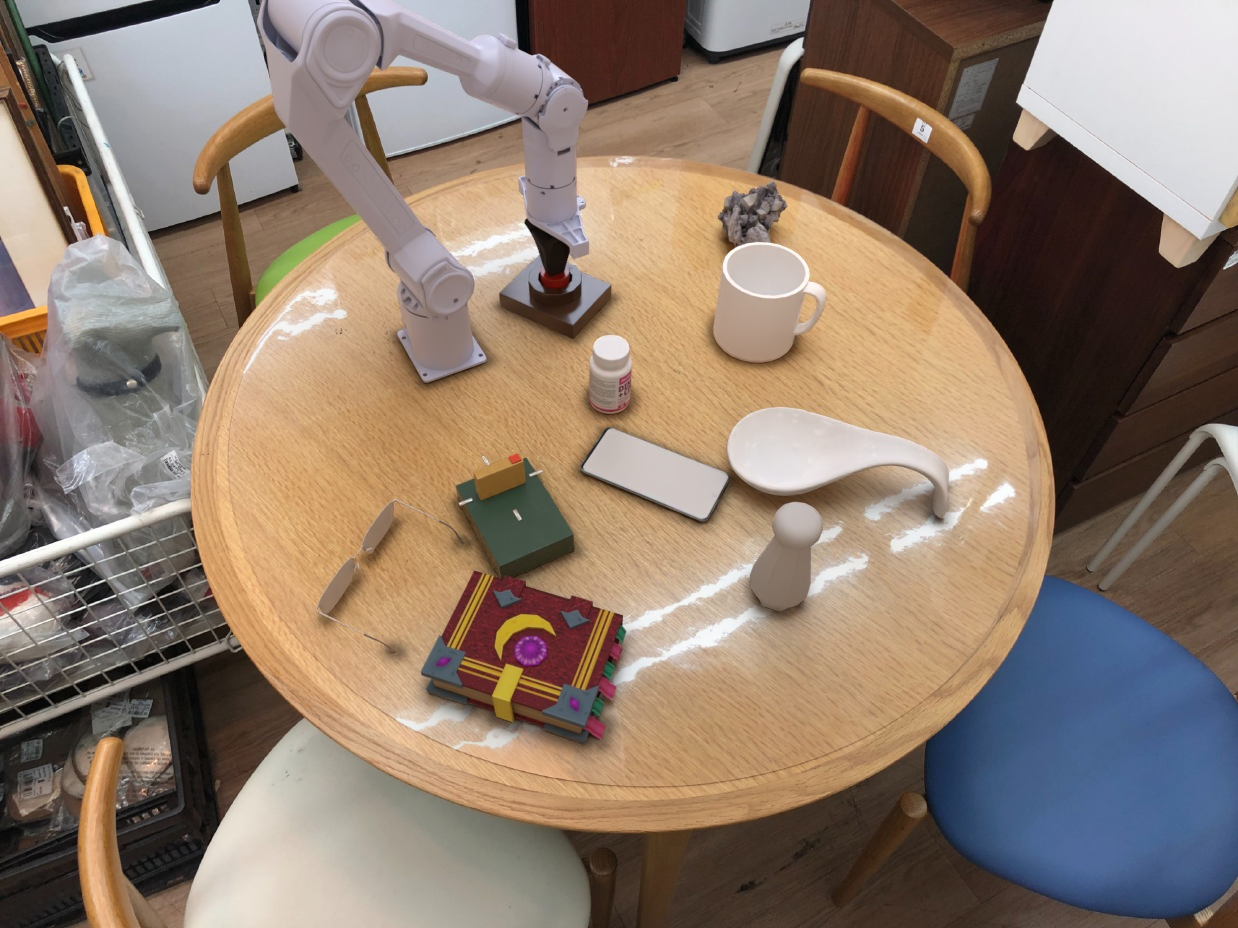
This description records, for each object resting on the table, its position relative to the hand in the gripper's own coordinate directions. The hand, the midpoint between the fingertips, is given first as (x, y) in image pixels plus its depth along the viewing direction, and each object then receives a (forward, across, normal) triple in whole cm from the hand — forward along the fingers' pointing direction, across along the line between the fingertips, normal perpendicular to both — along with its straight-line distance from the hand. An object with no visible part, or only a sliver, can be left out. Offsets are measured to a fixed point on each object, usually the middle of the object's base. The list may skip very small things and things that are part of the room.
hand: (554, 271), depth 109 cm
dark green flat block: (+5, -28, +19) cm, 34 cm away
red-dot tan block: (+2, -26, +19) cm, 32 cm away
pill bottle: (+5, -18, +2) cm, 19 cm away
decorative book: (+5, -44, +24) cm, 50 cm away
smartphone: (+5, -30, +3) cm, 31 cm away
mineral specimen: (+5, -1, -29) cm, 29 cm away
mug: (+5, -18, -20) cm, 27 cm away
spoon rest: (+5, -40, -14) cm, 42 cm away
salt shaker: (+5, -48, 0) cm, 48 cm away
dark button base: (+5, 0, 0) cm, 5 cm away
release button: (+2, 0, 0) cm, 2 cm away
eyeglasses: (+5, -30, +32) cm, 44 cm away
